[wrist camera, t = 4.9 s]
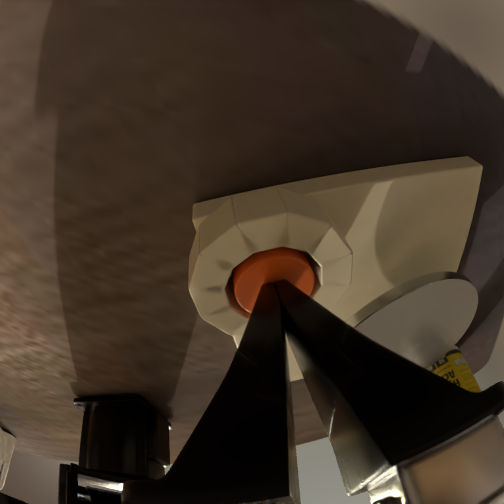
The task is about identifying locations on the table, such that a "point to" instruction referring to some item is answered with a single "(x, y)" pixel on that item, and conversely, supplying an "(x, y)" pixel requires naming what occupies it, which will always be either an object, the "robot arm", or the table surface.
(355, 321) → the scale pan
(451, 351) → the supplement bottle
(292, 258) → the tare button
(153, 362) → the table surface
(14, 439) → the shaker set
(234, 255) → the scale
